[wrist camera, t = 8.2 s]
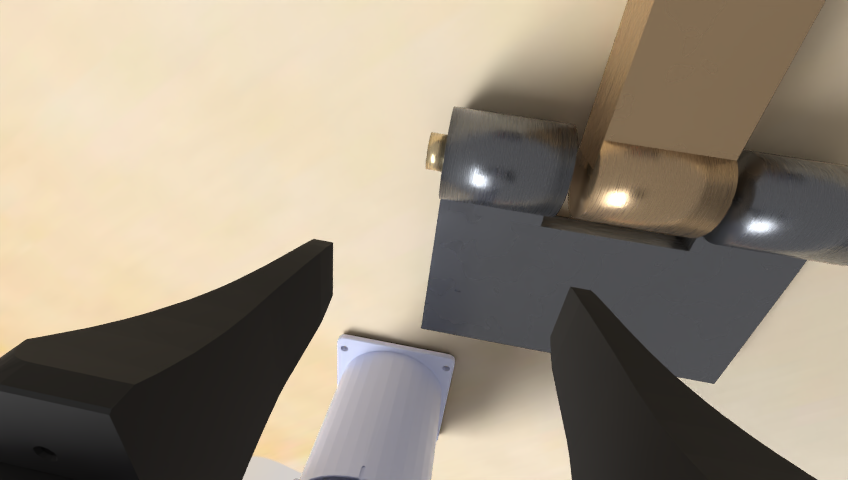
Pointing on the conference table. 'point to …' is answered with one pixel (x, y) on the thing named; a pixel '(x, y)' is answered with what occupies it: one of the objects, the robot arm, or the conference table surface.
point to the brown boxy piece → (682, 109)
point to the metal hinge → (615, 246)
